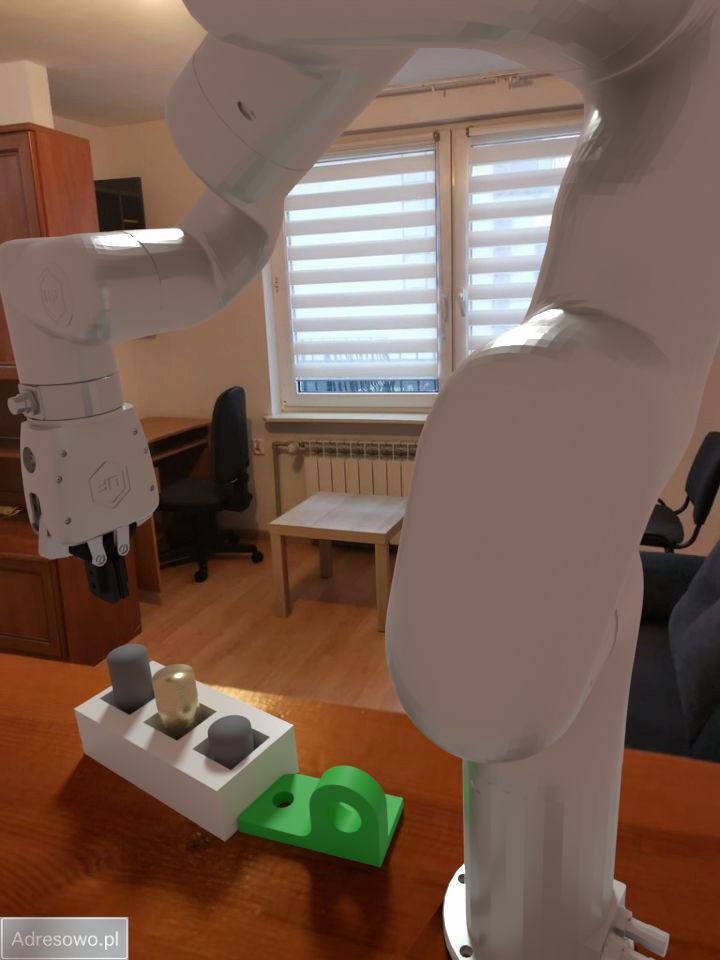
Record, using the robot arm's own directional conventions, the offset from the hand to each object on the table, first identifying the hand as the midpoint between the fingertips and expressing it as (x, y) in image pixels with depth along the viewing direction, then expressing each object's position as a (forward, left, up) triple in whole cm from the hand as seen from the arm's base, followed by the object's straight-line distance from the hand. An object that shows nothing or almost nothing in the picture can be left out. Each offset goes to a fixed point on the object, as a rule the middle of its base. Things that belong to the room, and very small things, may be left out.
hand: (111, 596), depth 64 cm
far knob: (-1, 0, -12) cm, 12 cm away
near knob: (-14, 0, -15) cm, 20 cm away
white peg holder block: (-7, 0, -16) cm, 18 cm away
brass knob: (-7, 0, -12) cm, 14 cm away
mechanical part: (-22, -1, -16) cm, 27 cm away
